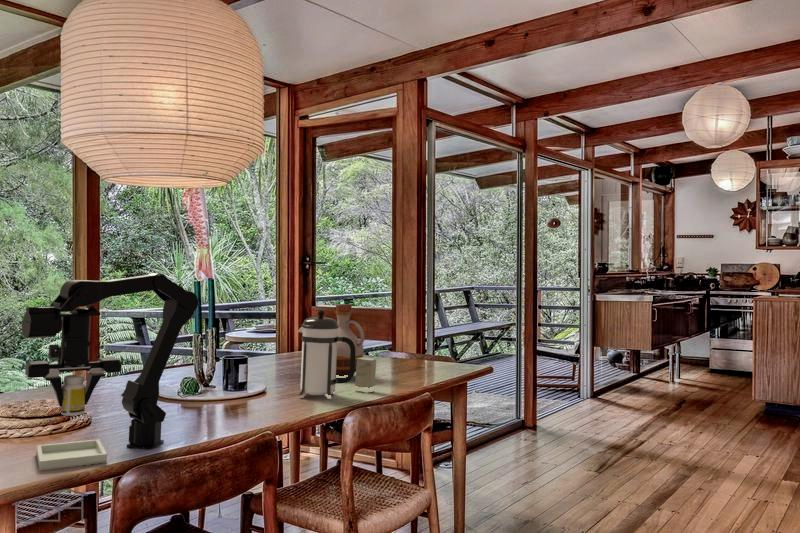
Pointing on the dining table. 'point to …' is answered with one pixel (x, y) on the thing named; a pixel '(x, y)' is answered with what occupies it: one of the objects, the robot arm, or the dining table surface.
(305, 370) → the coffee press
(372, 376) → the skincare box
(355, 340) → the jug
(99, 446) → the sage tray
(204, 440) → the dining table surface
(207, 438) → the dining table surface
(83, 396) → the supplement bottle
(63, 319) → the robot arm
